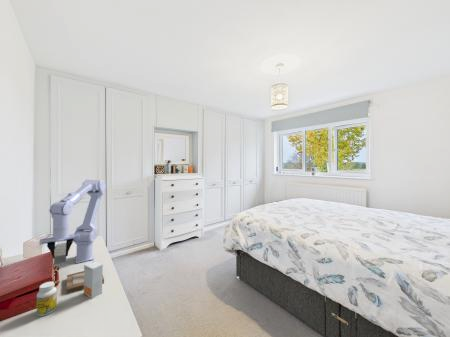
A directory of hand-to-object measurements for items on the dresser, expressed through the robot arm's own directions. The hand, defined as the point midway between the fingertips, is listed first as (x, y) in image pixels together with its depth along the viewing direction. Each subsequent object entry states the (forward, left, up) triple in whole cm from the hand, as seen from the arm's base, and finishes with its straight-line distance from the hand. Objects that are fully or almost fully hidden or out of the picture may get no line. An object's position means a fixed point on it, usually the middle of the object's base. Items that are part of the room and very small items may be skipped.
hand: (60, 256), depth 94 cm
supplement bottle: (+26, -3, -9) cm, 28 cm away
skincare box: (+24, +11, -9) cm, 28 cm away
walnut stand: (+12, +9, -9) cm, 17 cm away
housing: (0, 0, -2) cm, 2 cm away
